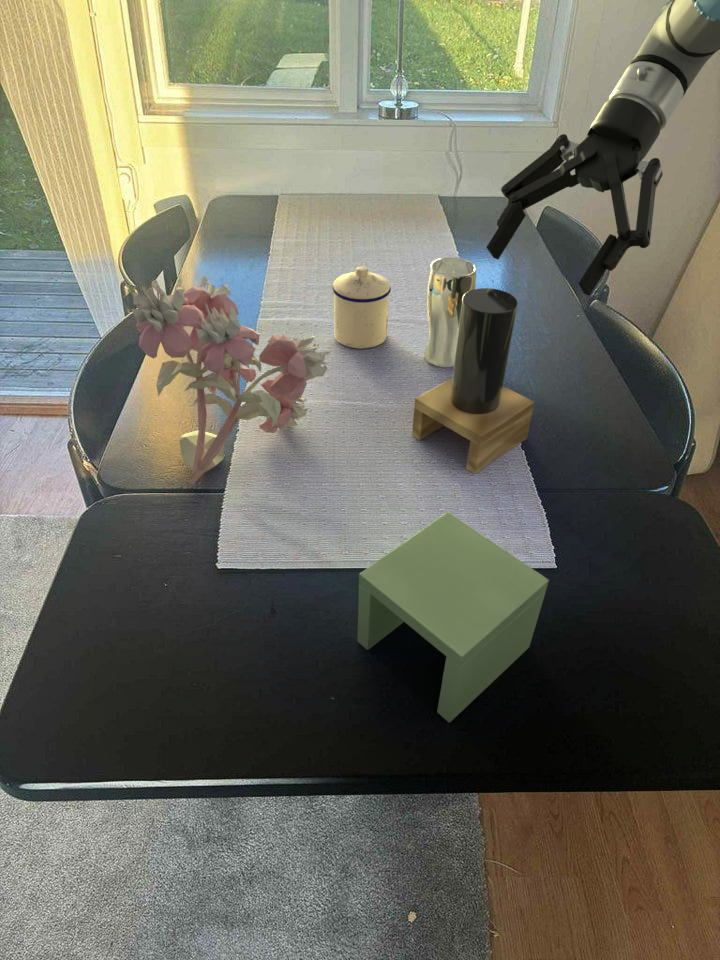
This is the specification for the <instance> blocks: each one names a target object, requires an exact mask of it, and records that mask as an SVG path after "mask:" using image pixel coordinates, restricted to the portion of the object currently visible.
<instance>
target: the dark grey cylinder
mask: <svg viewBox="0 0 720 960" xmlns="http://www.w3.org/2000/svg"><path fill="white" fill-rule="evenodd" d="M518 304H519V302H518V300H517V298H516V297H515V296H514V295H513V294H511V293H509V292H507V291H504V290H502V289H497V288H488V287H483V288H475V289H474V290H471V291H468V292H467V293H465V294H464V296H463V298H462V306H461V314H460V322H459V330H458V338H457V346H456V354H455V362H454V367H453V370H452V371H453V372H452V377H451V378H452V386H451V395H450V400H451V403H452V404H453V405H454V406H455V407H456V408H457V409H459V410H461V411H463V412H466V413H470V414H486V413H490V412H492V411H494V410H496V409H497V408H498V406H499V404H500V399H501V394H502V388H503V386H504V383H505V377H506V372H507V365H508V360H509V355H510V349H511V343H512V338H513V334H514V333H513V332H514V327H515V321H516V315H517V310H518Z"/></svg>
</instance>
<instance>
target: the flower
mask: <svg viewBox="0 0 720 960" xmlns="http://www.w3.org/2000/svg"><path fill="white" fill-rule="evenodd" d="M208 280H209V277H208V276H203V275H202V276H201V277H200V283H199V286H192V287H190V288H188V289H185V288H184V289H183V288H182V287H180V286H177V288H176V290H175V292H174V293H173V294H168V295H167V294H166V293H165V291H164V290H162V288H161V286H160V284H159V282H158V280H157V279H156V278H155V279H154V280H152V281H151V285H149V287H148V288H146V286H142V285H141V286H140V288H141V290H142V292H143V294H144V295H142V294H140V293H139V292H137V291H135V292H133V293H132V300H133V305H134V306H136V308H131V312H132V314H133V316H134V318H135V320H136V321H137V323H136V325H135V329H136V330H137V332H140V335H139V336H138V337H139V338H138V347H139V348H140V349H141V350H142V351H143V352H144V354H145V355H146V356H148V357H149V358H151V359H156V358H157V357H158V353H159V352H158V351H159V348H160V345H161V346H162V348H163V351H164V354H166V355H167V356H168V357H170V358H172V359H175V358H176V359H178V358H185V357H186V359H187V361H184V362H180V361H177V360H169V361H164V362H162V363H161V366H160V368H159V372H158V375H157V379H156V385H155V387H156V391H157V396H158V398H159V397H160V396H161V394H162V391H163V389H164V388H165V387H167V386H169V385H170V384H171V383H172V382H173V381H174V380H175V378H176V377H177V376H178V375H179V373H180V374H182V375H185V376H187V377H191V378H195V380H193V381H192V382H189V384H188V385H187V387H186V388H185V390H184V391H183V393H185V392H187V391H188V390H189V389H194V390H195V389H196V395H197V396H196V398H195V400H194V402H193V403H192V405H191V407H193V406H195V405H196V404H197V425H198V426H197V428H198V429H196V430H194V431H189V432H185V433H184V434H183V435H181V436H179V448H180V449H179V450H180V455H181V457H182V460H183V462H184V465H185V466H186V467H187V468H188V469H189V470H190V471H192V474H191V475H192V477H191V478H190V480H189V481H188V484H189V485H190V486H192V487H193V486H194V484H195V483H196V482H197V481H198V480H199V479H200V478H201V476H202V475H204V474H205V473H206V472H208V471H210V470H211V469H213V468H215V467H216V466H218V465H219V464H220V463H221V462H222V461H223V460H224V459H225V443H226V441H227V440H228V438H229V437H230V435H231V433H232V432H233V430H234V428H235V427H236V425H237V423H238V422H239V421H240V420H243V421H244V420H245V421H249V420H252V419H254V418H257V417H265V418H266V420H265V421H264V422H263V423H262V424H259V425H258V428H259V429H260V430H262V431H263V432H265V433H268V434H274V433H275V432H276V431H277V430H278V429H279V430H282V429H283V428H285V427H289V428H290V427H291V428H292V427H298V426H299V424H298V423H297V421H299V419H301V418H303V417H306V416H307V413H308V410H309V408H306V405H305V402H306V401H307V397H303V394H304V393H305V389H306V387H307V385H308V383H307V381H309V380H312V379H314V378H317V377H320V378H321V377H323V376H324V375H325V373H326V372H327V370H328V366H327V365H328V363H327V362H325V358H326V356H327V355H329V354H330V353H331V351H319V352H318V351H316V350H317V349H319V347H320V344H319V343H317V344H316V343H314V344H313V345H312V347H309V345H310V344H311V343H313V340H314V339H315V335H313V336H310V337H307V338H304V339H301V338H294V337H293V338H292V339H290V338H289V337H287V336H286V335H284V334H279V335H277V334H276V335H272V336H271V337H270V338H269V340H268V341H267V343H268V344H267V345H266V346H265V347H264V349H263V350H262V351H261V353H259V355H258V357H259V358H257V356H255V355H254V354H255V351H256V348H255V346H253V344H254V345H257V346H259V342H260V335H259V333H258V332H257V331H255V330H254V329H253V328H251V327H248V326H245V325H242V326H241V325H240V320H239V319H238V315H239V314H240V312H239V310H238V306H237V304H236V303H235V302H234V301H233V300H232V299H231V298H229V297H228V296H230V295H231V294H232V292H231V291H230V289H229V287H228V285H227V284H226V283H223V284H222V285H221V286H220V287H217V288H215V287H216V286H215V285H213V283H212V282H210V283H208ZM206 288H207V289H206ZM154 290H155V291H156V293H155V291H154ZM156 294H157V295H156ZM186 327H190V328H192V329H191V332H190V335H189V333H188V332H187V331H186V329H184V328H186ZM248 340H249V341H251V342H252V343H253V344H252V343H250V342H249V341H248ZM191 350H192V351H195V352H197V353H196V362H194V360H193V357H192V356H191V353H190V352H191ZM202 363H203V364H202ZM241 364H242V365H241ZM262 364H265V365H268V366H271V367H273V368H272V369H268V370H267V371H265V372H264V373H263V374H261V372H262ZM202 365H203V367H202ZM248 365H252V366H255V367H256V368H257V370H258V371H259V373H260V374H261V375H260V376H259V377H258V378H256V377H257V374H256V373H257V372H256V369H253V368H251V367H250V368H249V367H247V366H248ZM322 365H323V366H322ZM208 371H210V372H211V373H209V374H207V375H204V374H205V373H206V372H208ZM277 372H279V373H280V374H278V375H276V376H275V377H274V379H265V378H267V377H269V376H271V375H273V374H275V373H277ZM241 378H242V379H243V380H244V381H245V383H247V384H248V383H251V384H250V385H249V386H248V387H247V388H246V389H245V390H244V391H243V392H242V393H241V392H240V391H241ZM263 379H265V380H264V381H262V380H263ZM261 381H262V383H260V382H261ZM259 383H260V386H261V387H262V388H263V390H262V389H258V390H254V388H255V387H256V386H257V385H258V384H259ZM205 389H208V392H210V393H205ZM216 390H218V391H220V392H221V393H222V394H223V395H224V396H225V397H226V398H227V399H229V400H230V401H229V400H226V399H224V398H223V397H221V396H219V395H217V394H216ZM252 390H254V391H252ZM240 393H241V394H240ZM231 401H232V402H233V405H232V402H231ZM242 403H244V404H242ZM241 404H242V405H241ZM207 405H218V406H219V407H220V409H221V410H222V411H223V412H224V414H225V416H227V417H226V418H225V419H224V422H223V424H222V426H221V428H220V429H219V431H218V433H217V434H215V433H212V432H208V431H206V428H207V415H208V414H207ZM296 420H297V421H296Z"/></svg>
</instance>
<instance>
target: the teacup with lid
mask: <svg viewBox="0 0 720 960" xmlns="http://www.w3.org/2000/svg"><path fill="white" fill-rule="evenodd" d="M391 290H392V287H391V284H390V282H389V281H388V280H387V279H386V278H385V277H384V276H382V275H380V274H378V273H374V272H370V271H369V269H368V267H366V266H363V265H361V266H357V267H356V268H355V271H352V272H348V273H344V274H341V275H340V276H338V277H336V279H335V280H334V281H333V284H332V297H333V324H334V325H333V331H334V332H333V334H334V338H335V339H336V341H337V342H338V343H339V344H341V345H343V346H344V347H348V348H353V349H359V350H360V349H370V348H371V349H372V348H374V347H378V346H380V345H381V344H383V343H384V342H385V341H386V339H387V336H388V323H389V321H388V320H389V302H390V301H389V300H390V294H391V292H392V291H391Z"/></svg>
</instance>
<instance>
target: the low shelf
mask: <svg viewBox="0 0 720 960" xmlns="http://www.w3.org/2000/svg"><path fill="white" fill-rule="evenodd" d="M452 378H453V377H451V378H450V379H448V380H446V381H444V382H443V383H440V384H438V385H437V386H435V387H433V388H432V389H430V390H428V391H426V392H424V393H422V394H420V395H418V396H417V397H415V398H414V406H413V407H414V408H413V418H412V430H411V436H413V437H414V438H415V439H418V440H419V441H421V440H423V439H424V438H426V437H427V436H429V435H431V434H432V433H434V432H436V431H438V430H439V429H441V428H443V427H445V428H448V429H449V430H451V431H453V432H454V433H456V434H458V435H460V436H462V437H463V438H465V439H467V440H469V447H468V454H467V460H466V467H465V469H466V470H468V471H469V472H471V473H473V474H474V475H475V474H477V473H479V472H480V471H482V470H483V469H484V468H486V467H488V466H489V465H490V464H492V463H493V462H495V461H496V460H498V459H499V458H500V457H502V456H504V455H505V454H507V453H508V452H509V451H511V450H512V449H514V448H515V447H517V446H518V445H520V444H521V443H524V441H526V440H527V439H528V434H529V430H530V426H531V420H532V416H533V412H534V408H535V401H533V400H531V399H529V398H528V397H526V396H523V395H522V394H520V393H518V392H516V391H514V390H512V389H510V388H508V387H506V386H504V385H503V388H502V394H501V399H500V404H499V406H498V408H497V409H496V410H494V411H492V412H490V413H486V414H470V413H466V412H463V411H461V410H459V409H457V408H456V407H455V406H454V405H453V404H452V403H451V400H450V395H451V386H452Z"/></svg>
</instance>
